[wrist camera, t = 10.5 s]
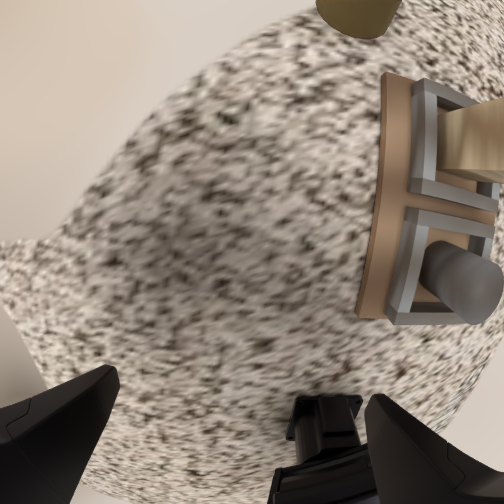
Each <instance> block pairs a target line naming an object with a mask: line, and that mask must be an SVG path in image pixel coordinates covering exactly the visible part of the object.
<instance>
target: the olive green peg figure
mask: <svg viewBox="0 0 504 504" xmlns="http://www.w3.org/2000/svg"><path fill="white" fill-rule="evenodd" d="M401 1H402V0H316V6H317V10H318V12H319V14H320V15H321V17H322V18H323V20H325V21H326V22H327V23H328V24H329V25H330V26H331V27H333V28H334V29H336V30H338V31H340V32H341V33H343V34H346V35H349V36H351V37H354V38H361V39H372V38H377V37H379V36H381V35H383V34H384V33H385V31H386V30H387V28H388V27H389V25H390V23H391V21H392V19H393V17H394V15H395V13H396V11H397V9H398V7H399V5H400V3H401Z"/></svg>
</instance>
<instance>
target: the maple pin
mask: <svg viewBox="0 0 504 504" xmlns="http://www.w3.org/2000/svg"><path fill="white" fill-rule="evenodd" d="M436 170H438V171H441V172H444V173H448V174H451V175H454V176H457V177H460V178H463V179H466V180H470V181H481V182H491V183H500V184H504V98H500V99H496V100H492V101H488V102H484V103H480V104H476V105H472V106H469V107H465V108H461V109H458V110H454V111H451V112H448V113H444V114H441V115H437V157H436Z"/></svg>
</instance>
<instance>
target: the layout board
mask: <svg viewBox="0 0 504 504" xmlns="http://www.w3.org/2000/svg"><path fill="white" fill-rule="evenodd" d="M381 87H382V107H381V138H380V155H379V168H378V179H377V189H376V198H375V206H374V214H373V221H372V228H371V234H370V240H369V246H368V252H367V258H366V263H365V268H364V273H363V278H362V283H361V288H360V292H359V297H358V301H357V306H356V310H355V313H356V315H357V316H358V318H376V319H389V320H390V321H391V322H392V324H393V325H441V324H464V323H468V324H471V325H476V324H480V323H482V322H483V321H485V320H486V319H487V318H488V317H489V316H490V315H491V314H492V313H493V312H494V310H495V309H496V307H497V305H498V303H499V301H500V299H501V296H502V292H503V287H504V276H503V272H502V270H501V268H500V267H499V266H498V265H497V264H495V263H493V262H491V261H489V257H490V253H491V248H492V243H493V237H494V232H495V226H494V221H495V214H496V213H497V211H498V203H499V193H500V183H491V182H481V181H470V180H466V179H463V178H460V177H457V176H454V175H451V174H448V173H444V172H441V171H438V170H436V157H437V115H441V114H444V113H448V112H451V111H454V110H458V109H461V108H465V107H469V106H472V105H476V104H480V103H479V102H477V101H475V100H473V99H471V98H469V97H467V96H465V95H463V94H461V93H459V92H457V91H454V90H452V89H450V88H448V87H446V86H443V85H441V84H439V83H436V82H434V81H431V80H429V79H426V78H422V79H421V80H419V81H414V80H411V79H408V78H405V77H402V76H399V75H396V74H393V73H389V72H385V73H384V74H383V75H382V76H381Z"/></svg>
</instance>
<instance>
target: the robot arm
mask: <svg viewBox="0 0 504 504" xmlns="http://www.w3.org/2000/svg"><path fill="white" fill-rule="evenodd" d="M119 389H120V382H119V377H118V373H117V369H116V368H115V367H114V366H111V365H107V364H105V365H102V366H100V367H98V368H96V369H94V370H91V371H89V372H87V373H85V374H83V375H81V376H78V377H76V378H74V379H72V380H69V381H67V382H65V383H63V384H60V385H58V386H56V387H54V388H51V389H49V390H47V391H45V392H42V393H40V394H38V395H35V396H33V397H32V398H28V399H25V400H23V401H21V402H18V403H15V404H13V405H9V406H6V407H3V408H0V504H70V501H71V499H72V497H73V495H74V492H75V490H76V487H77V485H78V483H79V481H80V479H81V476H82V474H83V472H84V470H85V468H86V466H87V463H88V461H89V459H90V457H91V455H92V453H93V451H94V449H95V447H96V444H97V442H98V440H99V438H100V436H101V434H102V432H103V430H104V428H105V426H106V424H107V422H108V419H109V417H110V414H111V411H112V408H113V405H114V403H115V400H116V397H117V395H118V392H119ZM300 401H302V402H300ZM362 403H363V399H362V397H361V396H339V397H298V398H296V400H295V403H294V407H293V410H292V414H291V418H290V422H289V425H288V429H287V432H286V440H289V441H295V442H296V454H297V465H294V466H290V467H286V468H282V467H281V468H276V469H275V473H274V476H273V480H272V485H271V489H270V493H269V498H268V502H267V504H504V472H499V471H496V470H494V469H492V468H490V467H488V466H486V465H485V464H483V463H481V462H479V461H477V460H475V459H473V458H472V457H470V456H468V455H467V454H465V453H463V452H462V451H460V450H459V449H457V448H456V447H455V446H453V445H452V444H450V443H449V442H448V443H447V441H446V440H445V439H443V438H442V437H441V436H439V435H438V434H437V433H435V432H434V431H432V430H431V429H430V428H428V427H427V426H426V425H424V424H423V423H422V422H420V421H419V420H418V419H416V418H415V417H414V416H412V415H411V414H410V413H408V412H407V411H406V410H404V409H403V408H402V407H400V406H399V405H398V404H397V403H395V402H394V401H393V400H391V399H390V398H389V397H387V396H386V395H385V394H373V395H372V396H371V398H370V400H369V402H368V404H367V407H366V409H365V412H364V417H365V425H366V434H367V443H366V444H363V445H361V442H360V438H359V435H358V432H357V427H356V424H355V421H354V420H355V418H356V416H357V414H358V411H359V409H360V407H361V405H362Z"/></svg>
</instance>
